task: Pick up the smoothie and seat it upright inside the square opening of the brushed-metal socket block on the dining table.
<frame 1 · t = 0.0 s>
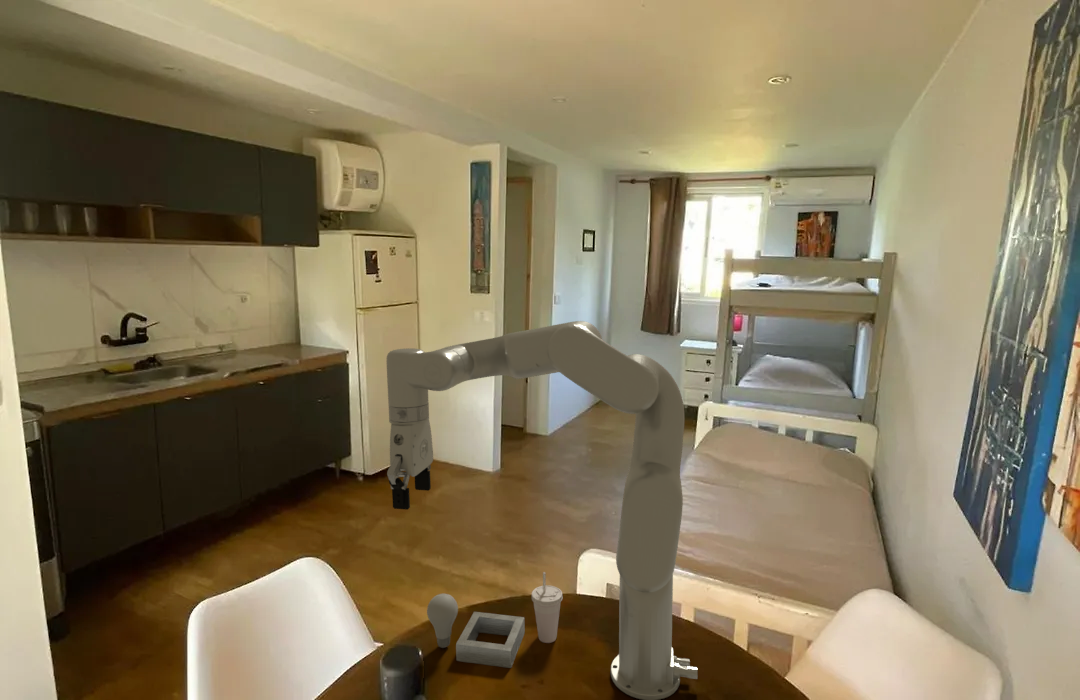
hand: (412, 498, 109), 31 cm above the table, tool pointing down, fingers open, 9 cm apart
socket block: (491, 646, 113), on the table
lightbulb: (443, 647, 113), on the table
smoothie: (547, 638, 116), on the table
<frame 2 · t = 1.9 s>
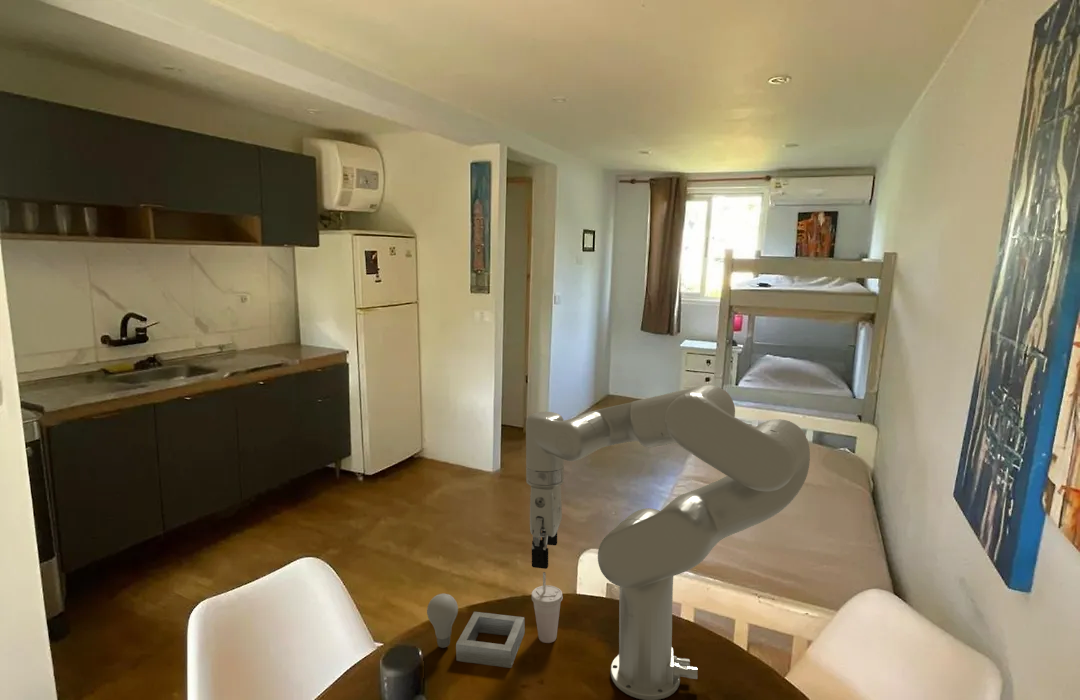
hand: (545, 555, 114), 18 cm above the table, tool pointing down, fingers open, 9 cm apart
nothing on the table moved.
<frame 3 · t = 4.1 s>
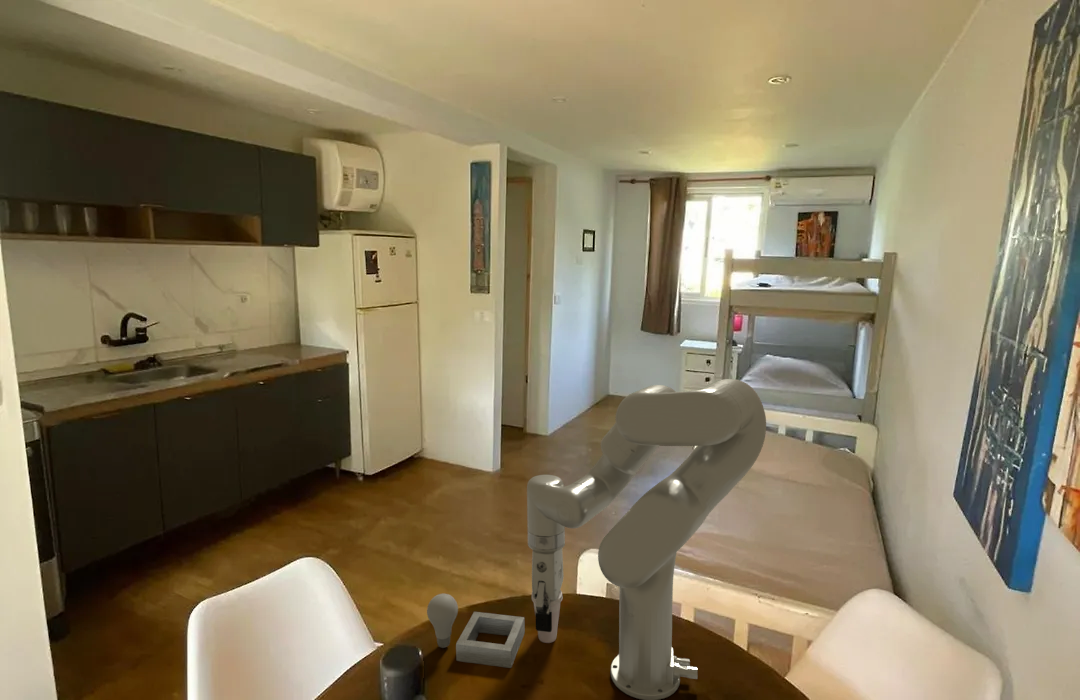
hand: (547, 619, 115), 4 cm above the table, tool pointing down, fingers closed on smoothie, 6 cm apart
smoothie: (547, 638, 116), on the table, touching gripper
everything else where it was.
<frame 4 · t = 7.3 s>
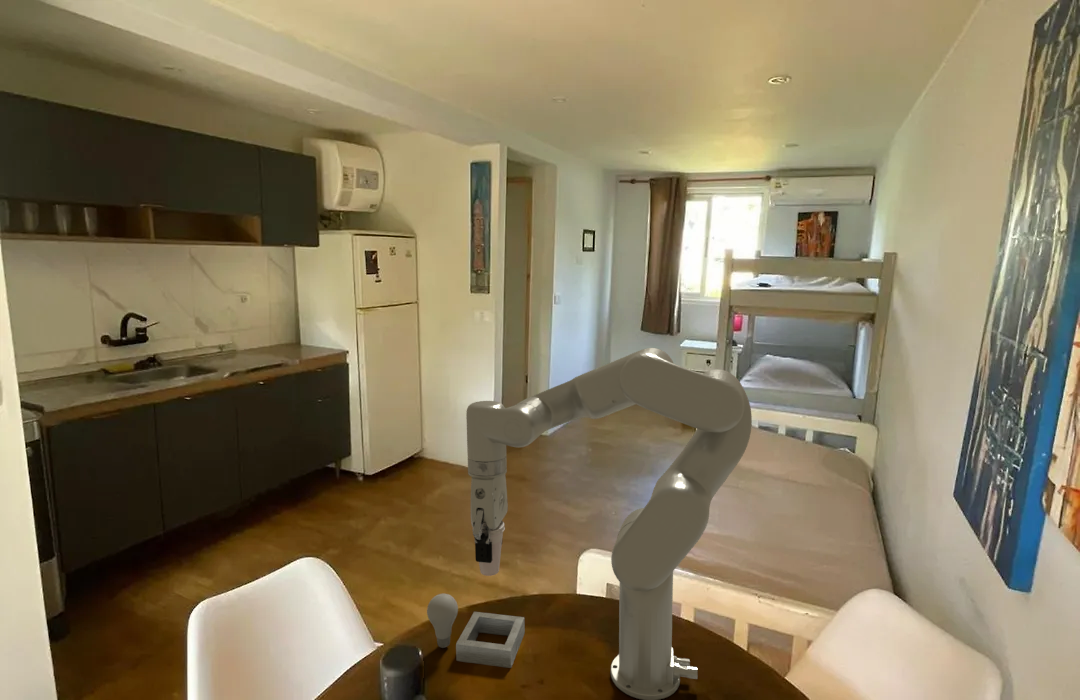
hand: (489, 552, 111), 20 cm above the table, tool pointing down, fingers closed on smoothie, 6 cm apart
smoothie: (489, 571, 111), point 16 cm above the table, touching gripper
everything else where it was.
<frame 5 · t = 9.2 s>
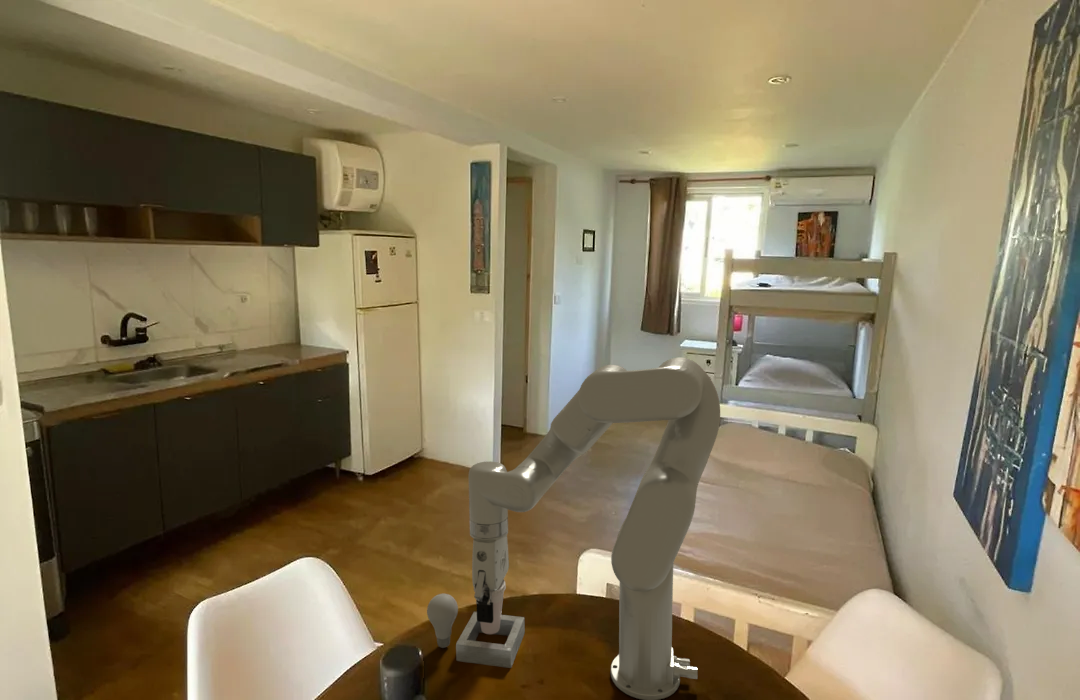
hand: (490, 610, 112), 8 cm above the table, tool pointing down, fingers closed on smoothie, 6 cm apart
smoothie: (490, 629, 113), point 4 cm above the table, touching gripper
everything else where it was.
when the fingers open (6 cm above the table, at t = 10.6 s): smoothie drops 2 cm, resting in socket block.
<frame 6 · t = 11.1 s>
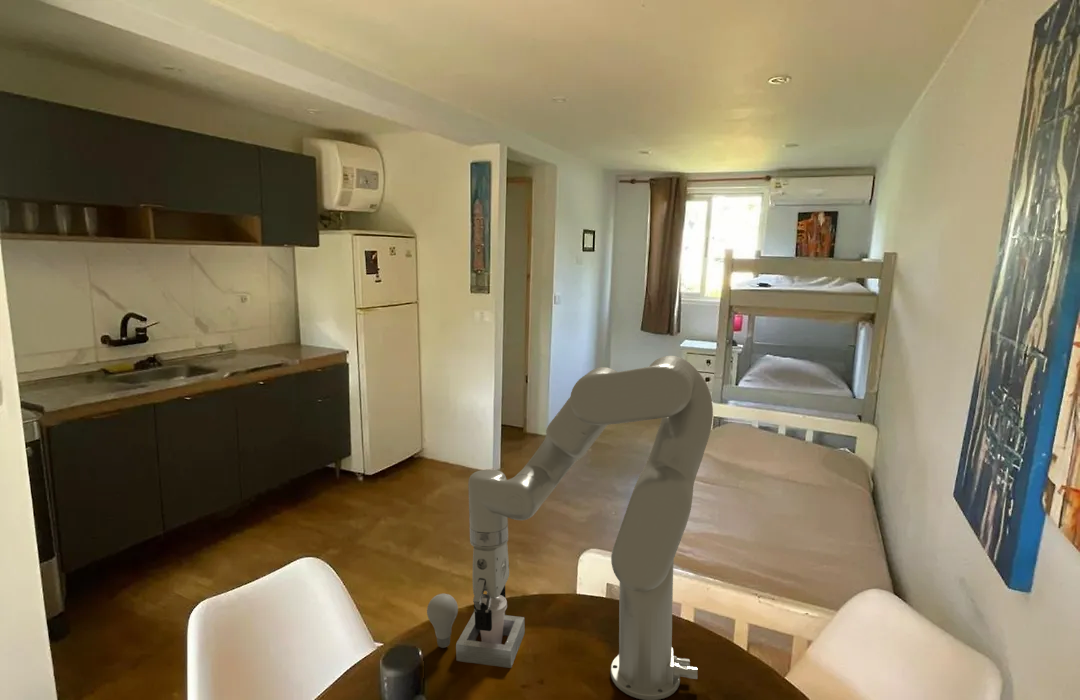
hand: (491, 614, 112), 7 cm above the table, tool pointing down, fingers open, 9 cm apart
smoothie: (492, 647, 113), resting in socket block
everything else where it was.
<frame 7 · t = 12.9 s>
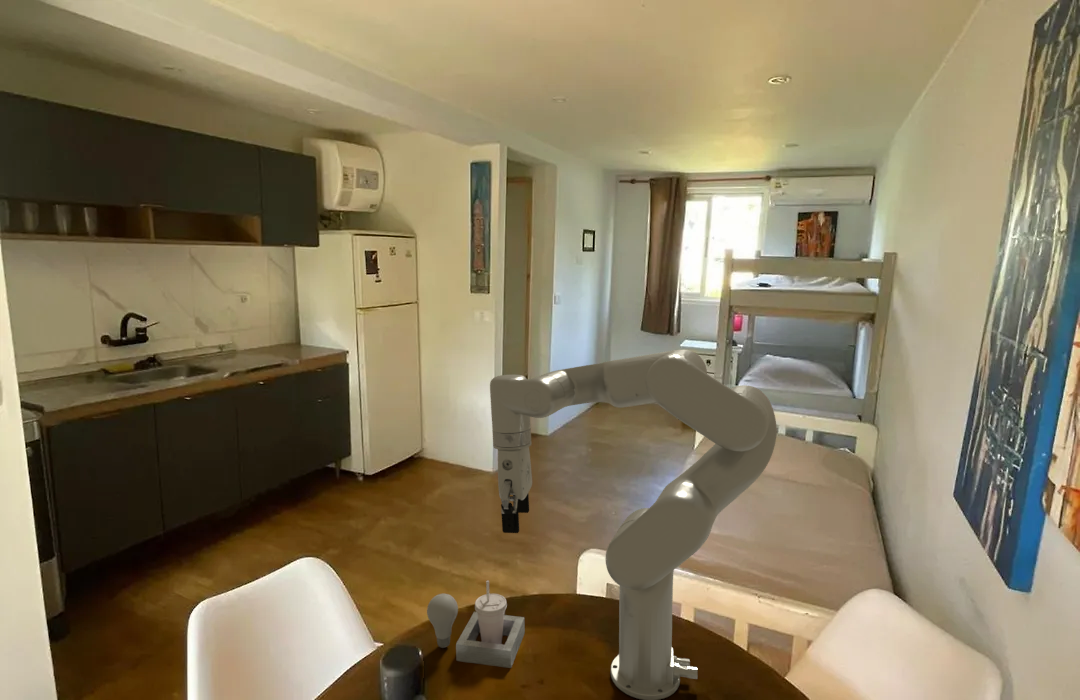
hand: (516, 521, 111), 26 cm above the table, tool pointing down, fingers open, 9 cm apart
nothing on the table moved.
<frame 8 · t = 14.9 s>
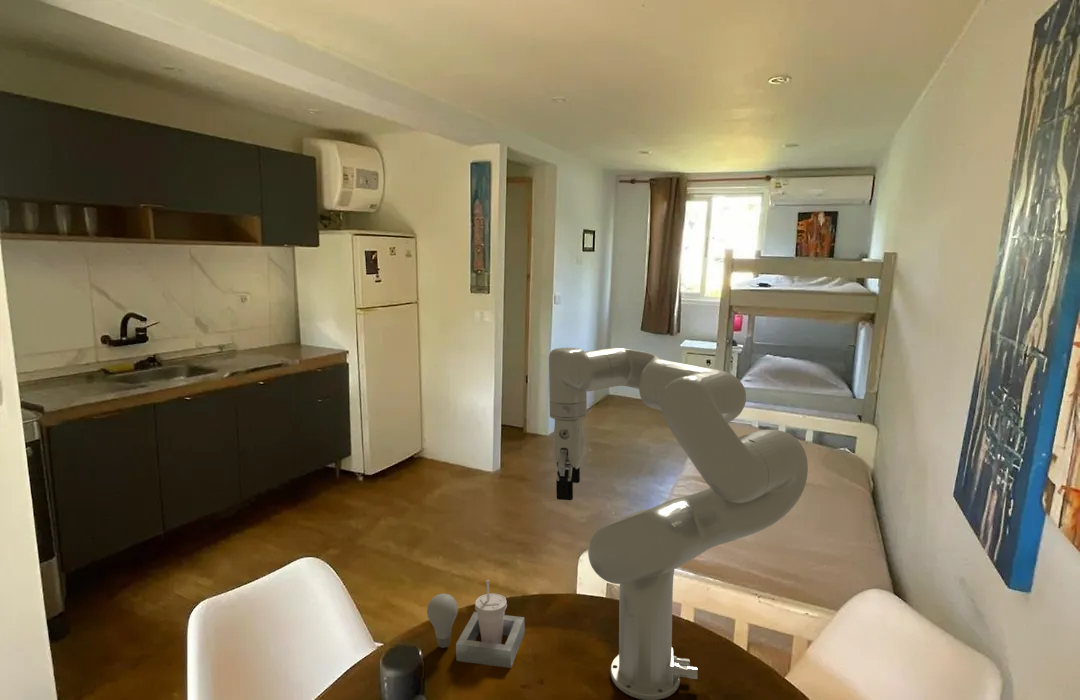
hand: (568, 490, 115), 30 cm above the table, tool pointing down, fingers open, 9 cm apart
nothing on the table moved.
at the end: smoothie 0.1 cm off-centre on the socket block, point 0.0 cm above the socket block's base; smoothie tilted 0°; the gripper is holding nothing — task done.
